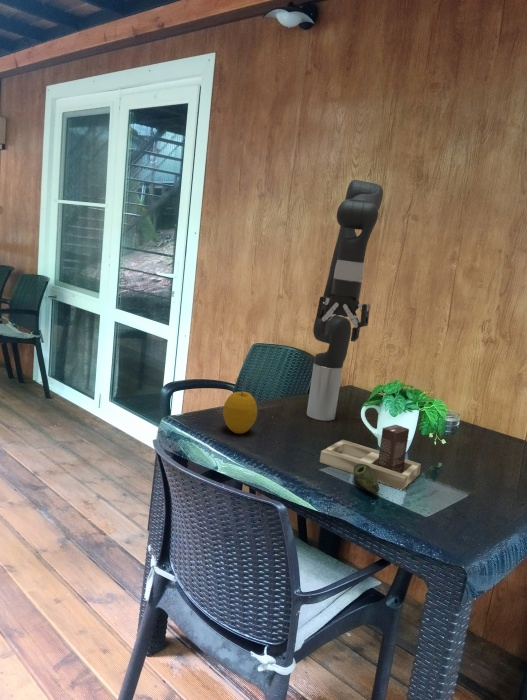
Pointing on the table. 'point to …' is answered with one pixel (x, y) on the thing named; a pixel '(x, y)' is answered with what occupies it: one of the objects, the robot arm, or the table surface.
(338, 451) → the socket board
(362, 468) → the decorative stone
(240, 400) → the apple
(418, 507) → the table surface
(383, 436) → the box
